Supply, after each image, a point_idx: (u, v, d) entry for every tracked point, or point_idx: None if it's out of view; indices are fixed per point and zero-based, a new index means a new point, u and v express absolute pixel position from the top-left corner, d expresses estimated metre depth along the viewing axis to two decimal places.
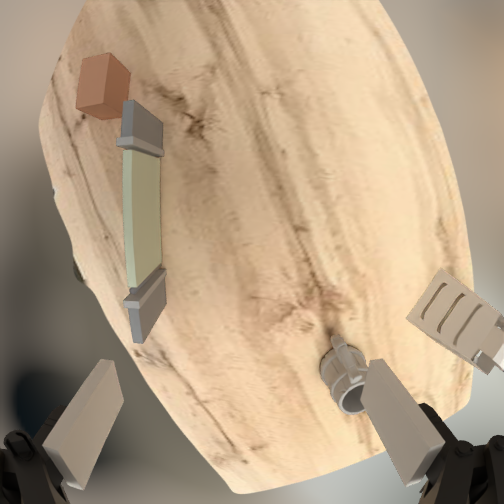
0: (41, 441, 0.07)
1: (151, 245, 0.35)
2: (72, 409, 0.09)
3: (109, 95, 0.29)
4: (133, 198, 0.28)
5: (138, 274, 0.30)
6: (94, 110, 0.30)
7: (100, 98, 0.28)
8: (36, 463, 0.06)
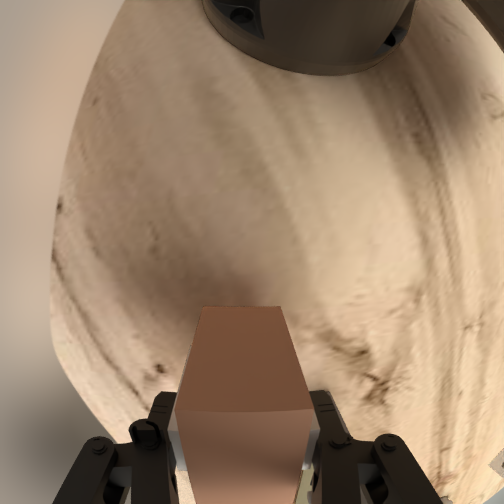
0: None
1: None
2: None
3: None
4: None
5: None
6: None
7: None
8: (160, 454, 0.08)
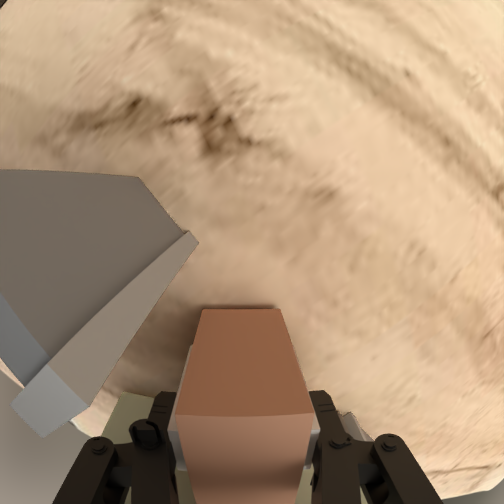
0: None
1: None
2: None
3: None
4: None
5: None
6: None
7: None
8: (160, 454, 0.08)
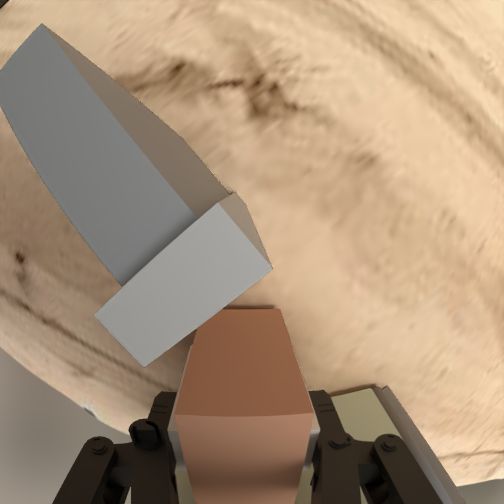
0: None
1: None
2: None
3: None
4: None
5: None
6: None
7: None
8: (160, 454, 0.08)
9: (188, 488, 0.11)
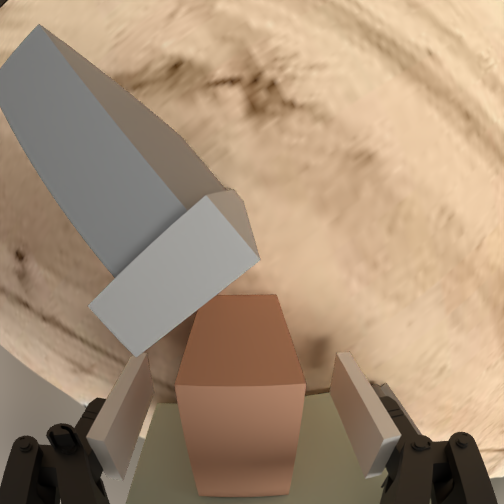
0: (81, 433, 0.08)
1: (344, 444, 0.13)
2: (112, 400, 0.10)
3: None
4: None
5: None
6: None
7: (278, 488, 0.10)
8: (79, 457, 0.07)
9: (184, 479, 0.11)
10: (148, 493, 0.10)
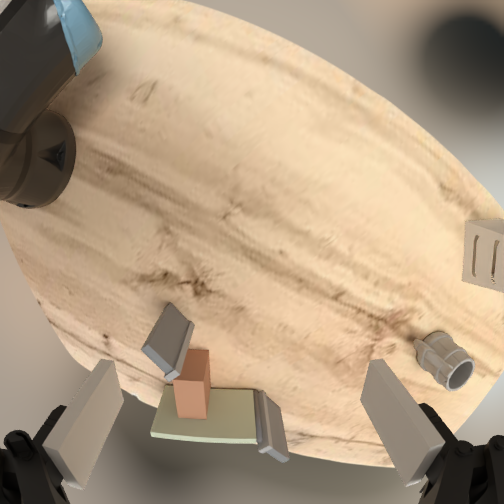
0: (41, 441, 0.07)
1: (232, 408, 0.39)
2: (72, 409, 0.09)
3: (206, 405, 0.37)
4: (186, 433, 0.33)
5: (247, 433, 0.34)
6: None
7: (202, 416, 0.36)
8: (36, 463, 0.06)
9: (175, 411, 0.37)
10: (162, 415, 0.36)
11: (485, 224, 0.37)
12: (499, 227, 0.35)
